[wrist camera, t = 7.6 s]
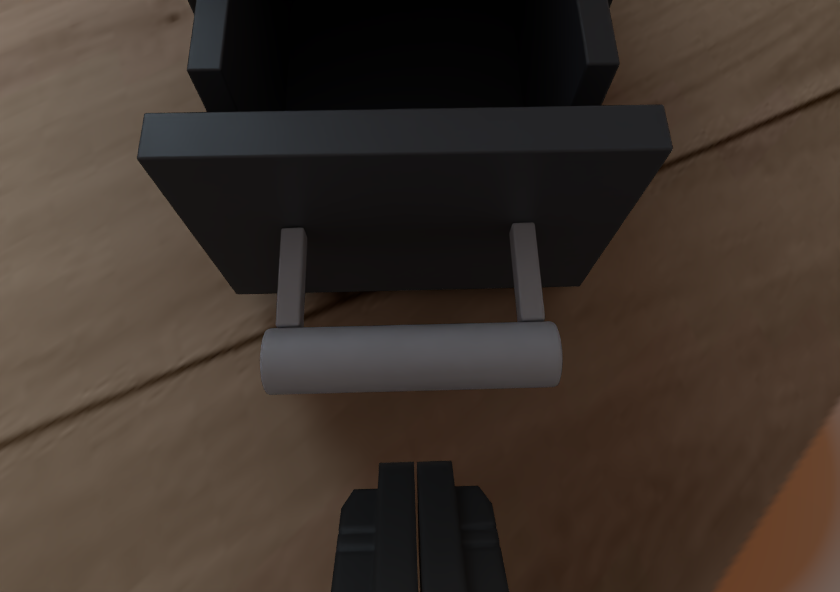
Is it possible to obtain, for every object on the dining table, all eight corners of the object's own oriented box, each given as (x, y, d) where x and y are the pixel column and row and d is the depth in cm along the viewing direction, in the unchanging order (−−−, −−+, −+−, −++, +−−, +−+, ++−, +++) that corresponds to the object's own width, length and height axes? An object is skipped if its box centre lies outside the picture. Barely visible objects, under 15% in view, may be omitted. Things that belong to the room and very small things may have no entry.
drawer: (597, 416, 19) (715, 342, 11) (224, 426, 18) (102, 358, 11) (539, -15, 25) (590, -237, 18) (262, -11, 25) (200, -236, 18)
